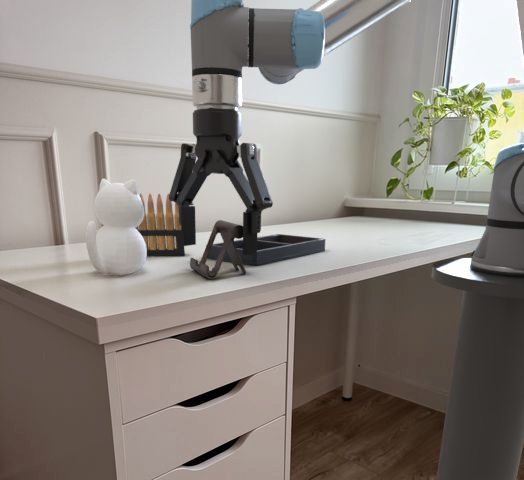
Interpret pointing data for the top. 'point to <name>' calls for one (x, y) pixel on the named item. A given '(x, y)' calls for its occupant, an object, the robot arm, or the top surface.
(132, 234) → the cat figurine
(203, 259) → the tablet stand
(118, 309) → the top surface
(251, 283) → the top surface
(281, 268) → the top surface
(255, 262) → the divided tray
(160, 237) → the ammunition clip
